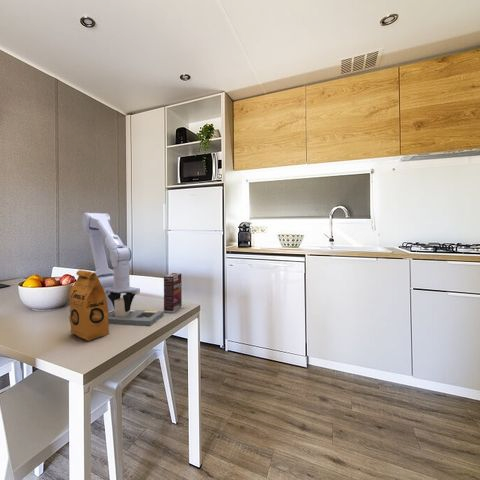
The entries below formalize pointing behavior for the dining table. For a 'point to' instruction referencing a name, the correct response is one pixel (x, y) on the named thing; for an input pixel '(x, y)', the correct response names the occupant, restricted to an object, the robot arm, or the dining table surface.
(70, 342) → the dining table surface
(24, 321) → the dining table surface
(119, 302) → the plug block
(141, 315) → the jack panel
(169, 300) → the supplement box
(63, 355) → the dining table surface
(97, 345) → the dining table surface
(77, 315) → the coffee package
